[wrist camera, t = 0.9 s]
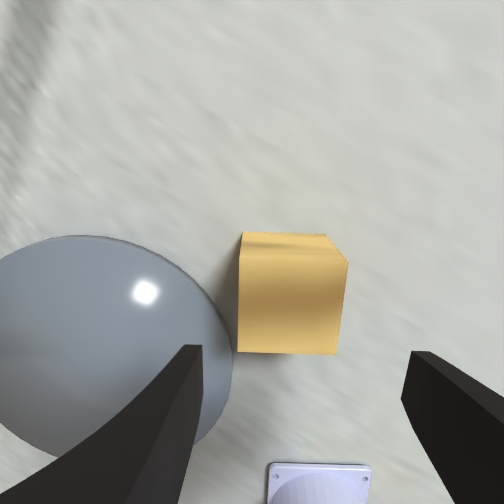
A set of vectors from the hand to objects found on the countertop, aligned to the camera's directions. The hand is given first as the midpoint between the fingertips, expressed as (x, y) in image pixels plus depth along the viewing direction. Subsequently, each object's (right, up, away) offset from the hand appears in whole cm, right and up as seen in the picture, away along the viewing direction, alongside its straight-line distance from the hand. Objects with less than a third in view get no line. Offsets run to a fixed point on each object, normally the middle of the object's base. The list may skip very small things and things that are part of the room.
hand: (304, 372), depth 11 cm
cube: (0, +3, +9) cm, 10 cm away
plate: (-12, -3, +11) cm, 17 cm away
